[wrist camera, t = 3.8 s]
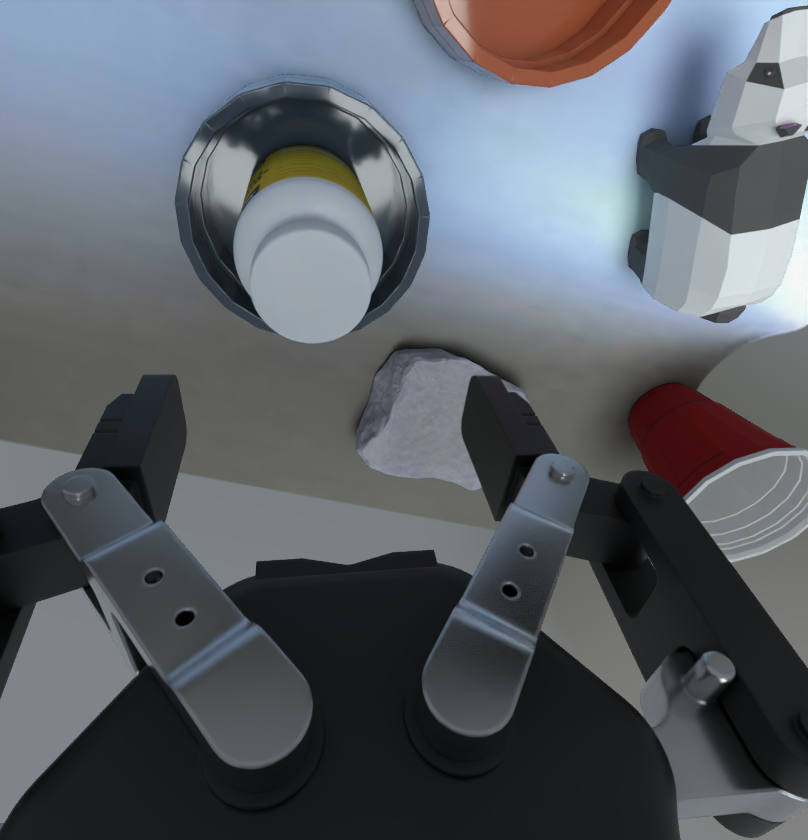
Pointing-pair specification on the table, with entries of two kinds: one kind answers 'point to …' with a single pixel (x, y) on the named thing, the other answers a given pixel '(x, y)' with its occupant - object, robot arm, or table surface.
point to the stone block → (420, 417)
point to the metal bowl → (284, 125)
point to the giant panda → (731, 185)
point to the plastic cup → (724, 469)
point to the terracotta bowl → (538, 35)
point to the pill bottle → (307, 244)
